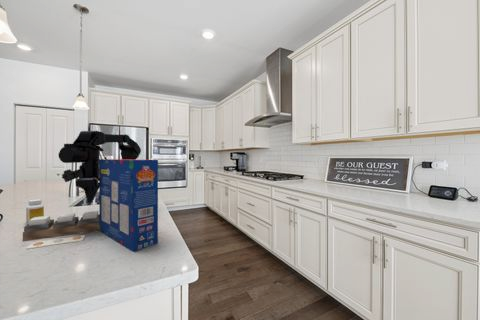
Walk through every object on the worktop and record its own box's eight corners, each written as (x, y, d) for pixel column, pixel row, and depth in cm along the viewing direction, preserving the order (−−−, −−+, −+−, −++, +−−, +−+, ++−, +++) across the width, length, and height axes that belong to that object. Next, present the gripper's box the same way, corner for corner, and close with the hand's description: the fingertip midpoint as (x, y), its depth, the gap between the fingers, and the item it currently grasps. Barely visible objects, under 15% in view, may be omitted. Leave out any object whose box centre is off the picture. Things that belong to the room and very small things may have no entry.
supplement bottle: (47, 220, 91) (47, 199, 91) (33, 224, 85) (33, 201, 85) (36, 220, 91) (36, 198, 91) (22, 223, 86) (22, 201, 86)
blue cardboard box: (157, 243, 67) (157, 159, 67) (133, 252, 61) (133, 159, 60) (121, 225, 84) (121, 159, 84) (99, 231, 78) (99, 159, 78)
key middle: (75, 218, 79) (75, 213, 79) (72, 221, 76) (72, 216, 76) (60, 220, 77) (60, 214, 77) (57, 223, 73) (57, 217, 73)
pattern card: (85, 235, 73) (85, 234, 73) (82, 240, 69) (82, 239, 69) (33, 243, 67) (33, 241, 67) (26, 249, 62) (26, 247, 62)
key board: (101, 225, 85) (101, 213, 85) (99, 230, 79) (99, 218, 79) (31, 234, 74) (31, 221, 74) (22, 241, 68) (22, 227, 68)
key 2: (98, 216, 83) (98, 210, 83) (96, 219, 79) (96, 213, 79) (85, 217, 81) (85, 212, 81) (82, 220, 77) (82, 214, 77)
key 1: (50, 221, 76) (50, 215, 76) (45, 224, 72) (45, 218, 72) (34, 223, 74) (34, 217, 74) (28, 226, 70) (28, 220, 70)
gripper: (70, 162, 84) (70, 199, 84) (56, 163, 68) (56, 209, 68) (102, 162, 90) (102, 196, 90) (96, 162, 73) (96, 205, 73)
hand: (90, 201), depth 80 cm, fingers open, 4 cm apart
